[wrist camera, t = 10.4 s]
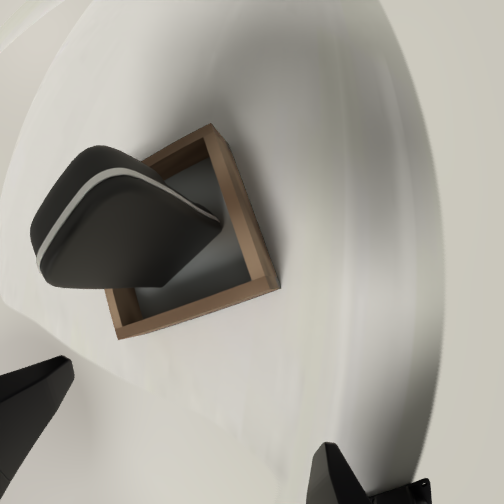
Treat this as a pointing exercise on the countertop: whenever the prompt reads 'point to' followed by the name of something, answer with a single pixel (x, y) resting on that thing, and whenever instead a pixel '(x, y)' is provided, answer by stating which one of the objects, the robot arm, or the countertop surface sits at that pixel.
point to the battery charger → (116, 225)
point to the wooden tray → (213, 255)
